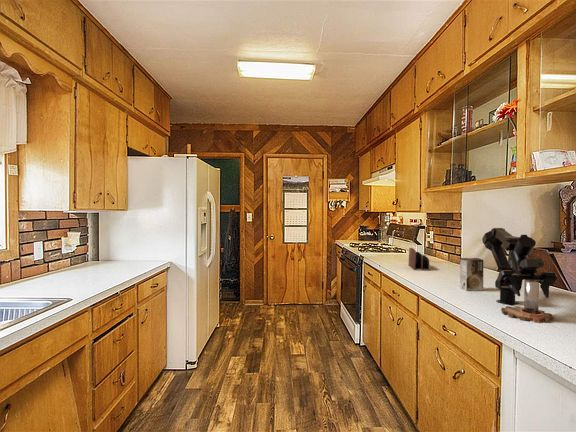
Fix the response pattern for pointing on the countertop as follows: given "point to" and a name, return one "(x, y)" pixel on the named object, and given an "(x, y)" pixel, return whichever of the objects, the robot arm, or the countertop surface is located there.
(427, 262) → the letter holder
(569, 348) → the countertop surface
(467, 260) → the coffee box
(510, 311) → the sprocket
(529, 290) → the drive pin
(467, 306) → the countertop surface
